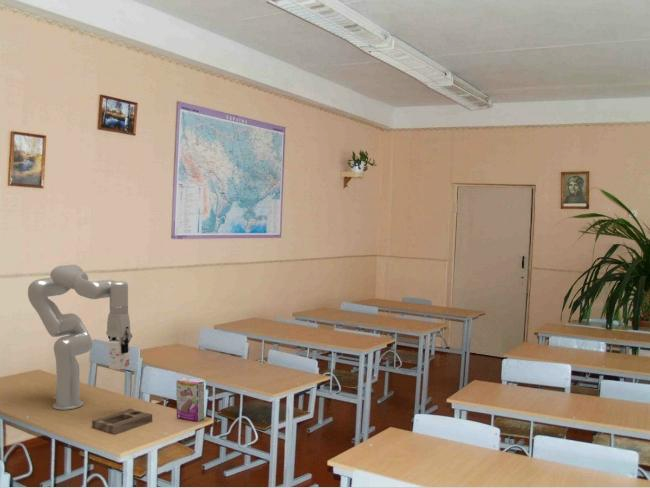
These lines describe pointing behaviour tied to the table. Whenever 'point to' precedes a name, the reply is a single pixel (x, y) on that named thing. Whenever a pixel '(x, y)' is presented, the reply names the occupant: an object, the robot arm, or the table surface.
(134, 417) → the socket holder
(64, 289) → the robot arm
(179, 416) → the candy bar box
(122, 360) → the ink cartridge box
